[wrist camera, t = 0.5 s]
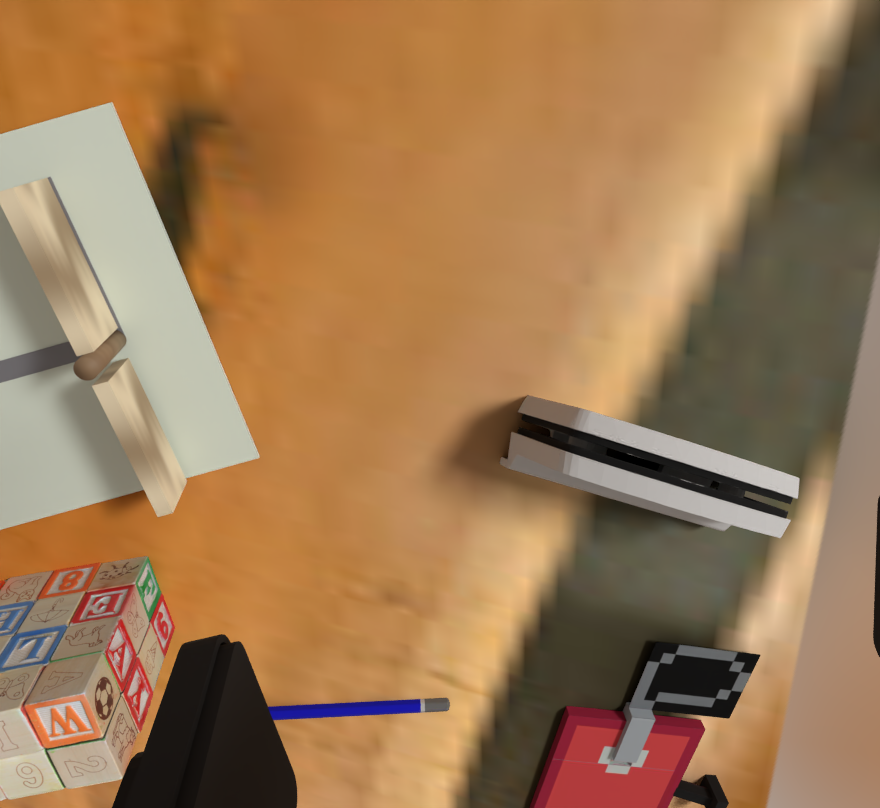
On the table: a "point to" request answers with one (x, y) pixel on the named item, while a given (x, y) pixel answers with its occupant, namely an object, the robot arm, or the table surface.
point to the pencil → (359, 708)
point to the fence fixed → (63, 275)
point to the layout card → (136, 315)
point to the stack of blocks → (77, 673)
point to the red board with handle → (645, 736)
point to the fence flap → (141, 435)
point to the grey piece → (664, 491)
